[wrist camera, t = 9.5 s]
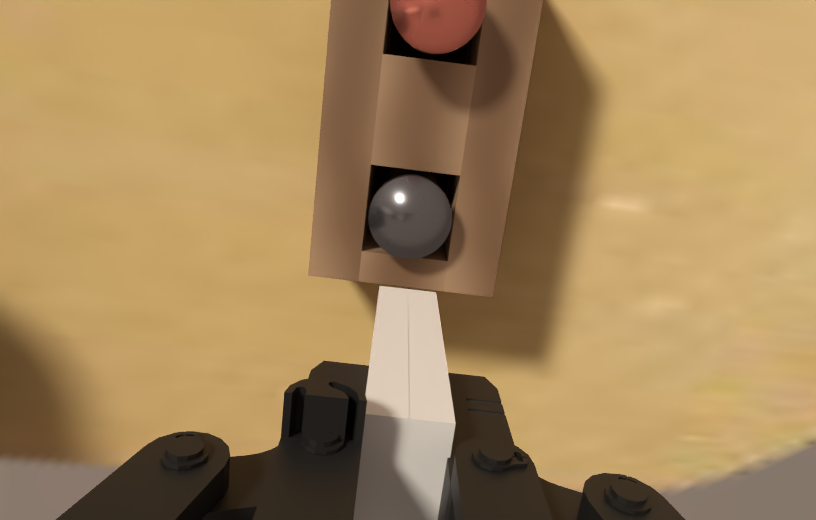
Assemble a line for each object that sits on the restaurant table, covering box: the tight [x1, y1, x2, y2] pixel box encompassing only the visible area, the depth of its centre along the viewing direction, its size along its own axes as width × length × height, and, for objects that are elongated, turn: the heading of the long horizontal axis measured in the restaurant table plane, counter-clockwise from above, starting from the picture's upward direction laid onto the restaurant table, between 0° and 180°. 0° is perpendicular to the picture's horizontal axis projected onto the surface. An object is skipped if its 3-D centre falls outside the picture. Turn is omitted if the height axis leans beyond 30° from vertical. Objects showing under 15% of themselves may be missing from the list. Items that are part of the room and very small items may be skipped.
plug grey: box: [368, 168, 452, 259], centre depth 35 cm, size 4×4×8 cm
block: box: [308, 0, 543, 297], centre depth 34 cm, size 10×18×7 cm, turn 173°
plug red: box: [390, 0, 487, 54], centre depth 30 cm, size 4×4×8 cm
